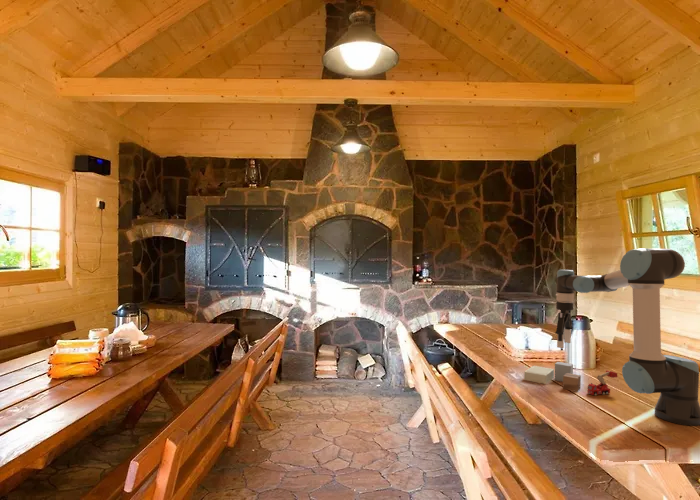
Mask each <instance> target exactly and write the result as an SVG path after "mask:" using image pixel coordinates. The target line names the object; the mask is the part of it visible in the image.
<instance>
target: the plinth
mask: <svg viewBox="0 0 700 500" xmlns="http://www.w3.org/2000/svg"><path fill="white" fill-rule="evenodd" d="M523 373H524V376H523V379H524V381H528V382H529V381H530V382H534V383H539V384H544V385H547V383H549V382H550V381H551V380H553V378H554V379H555V368H550V367H544V366H537V365H532V366H531V367H529V368H528V369H526V370H525V371H524V372H523Z"/></svg>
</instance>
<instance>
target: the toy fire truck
mask: <svg viewBox="0 0 700 500" xmlns="http://www.w3.org/2000/svg"><path fill="white" fill-rule="evenodd" d="M605 377H609V378H618V373H617V372H615V371H612V370H605V373H602V374H598V375H597V376H596V379H597V380H598V382H599V383H598V384H593V383H592V382H591V383H588V384H587V394H588V395H591V396H597V395H608V394H611V388H609V387H608V386H609V385H608V384H607V383H606V381H605Z"/></svg>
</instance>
